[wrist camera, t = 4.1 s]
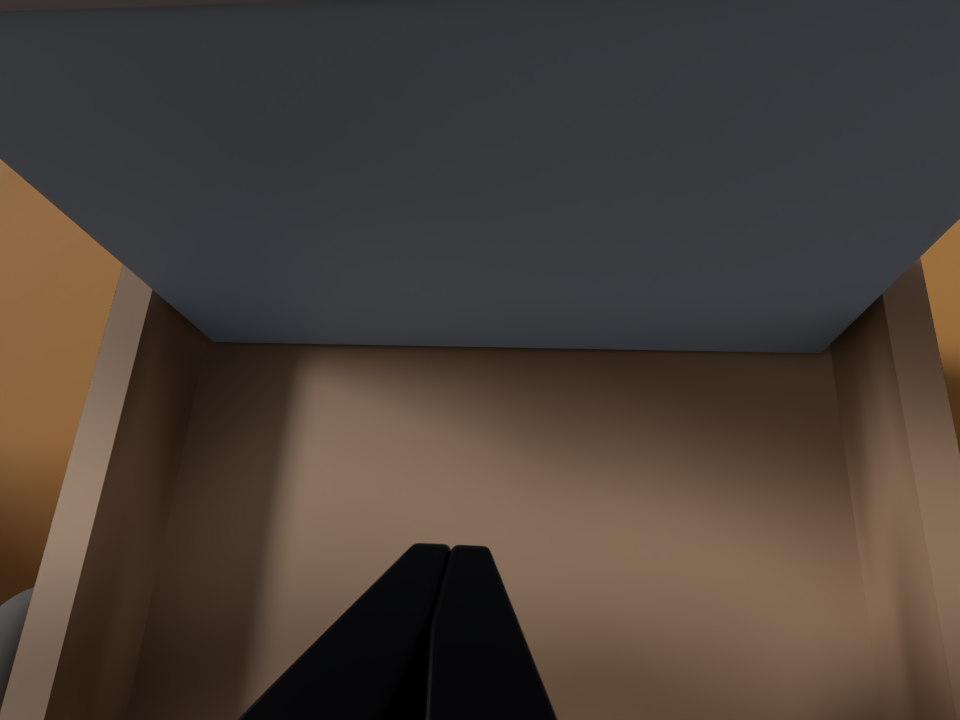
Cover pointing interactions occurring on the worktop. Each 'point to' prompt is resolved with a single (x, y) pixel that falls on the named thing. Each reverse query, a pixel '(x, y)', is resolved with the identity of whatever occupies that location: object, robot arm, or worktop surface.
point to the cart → (508, 518)
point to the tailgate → (496, 162)
